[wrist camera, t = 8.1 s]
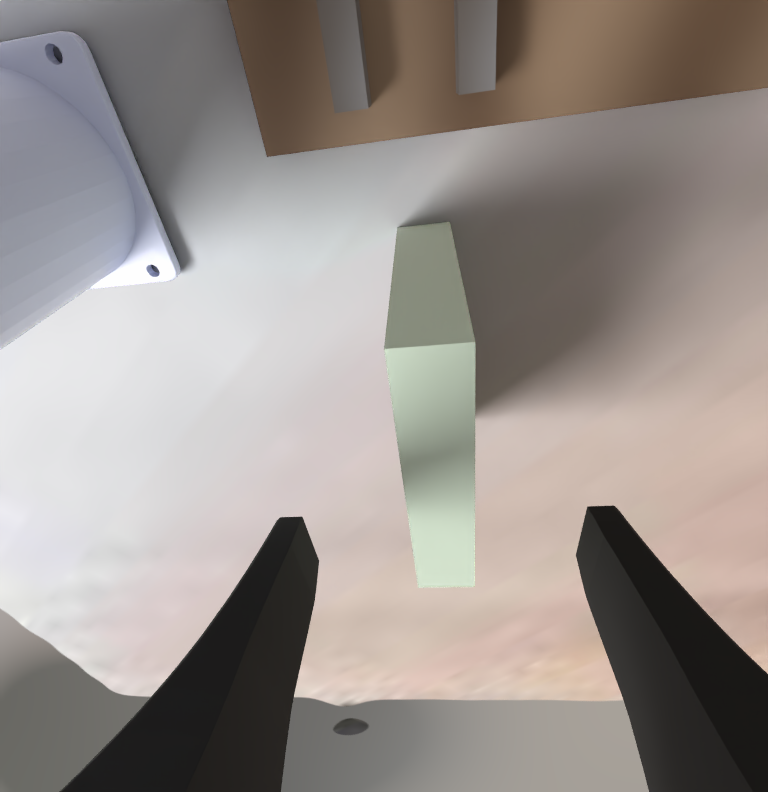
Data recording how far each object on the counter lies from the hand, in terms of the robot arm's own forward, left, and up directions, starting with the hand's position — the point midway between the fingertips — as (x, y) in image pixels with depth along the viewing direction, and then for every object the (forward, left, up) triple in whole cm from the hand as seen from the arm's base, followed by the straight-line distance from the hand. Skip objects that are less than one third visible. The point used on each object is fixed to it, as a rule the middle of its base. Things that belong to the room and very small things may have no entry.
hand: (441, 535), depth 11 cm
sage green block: (0, 0, -10) cm, 10 cm away
